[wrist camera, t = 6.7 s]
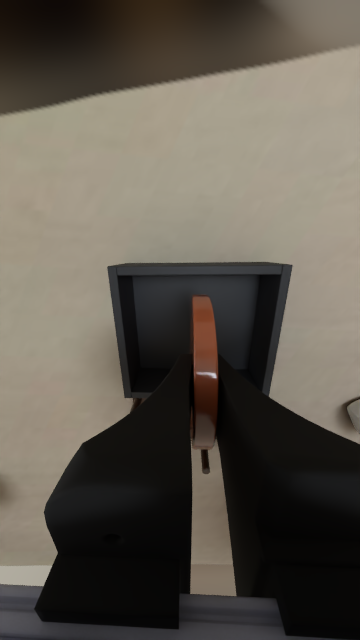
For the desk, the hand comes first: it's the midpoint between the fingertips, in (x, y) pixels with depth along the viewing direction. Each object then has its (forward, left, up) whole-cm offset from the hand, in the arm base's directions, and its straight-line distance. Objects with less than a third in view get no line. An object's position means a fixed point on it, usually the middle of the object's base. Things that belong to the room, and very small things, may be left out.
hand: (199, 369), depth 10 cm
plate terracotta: (0, 0, 0) cm, 0 cm away
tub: (0, 0, -8) cm, 8 cm away
